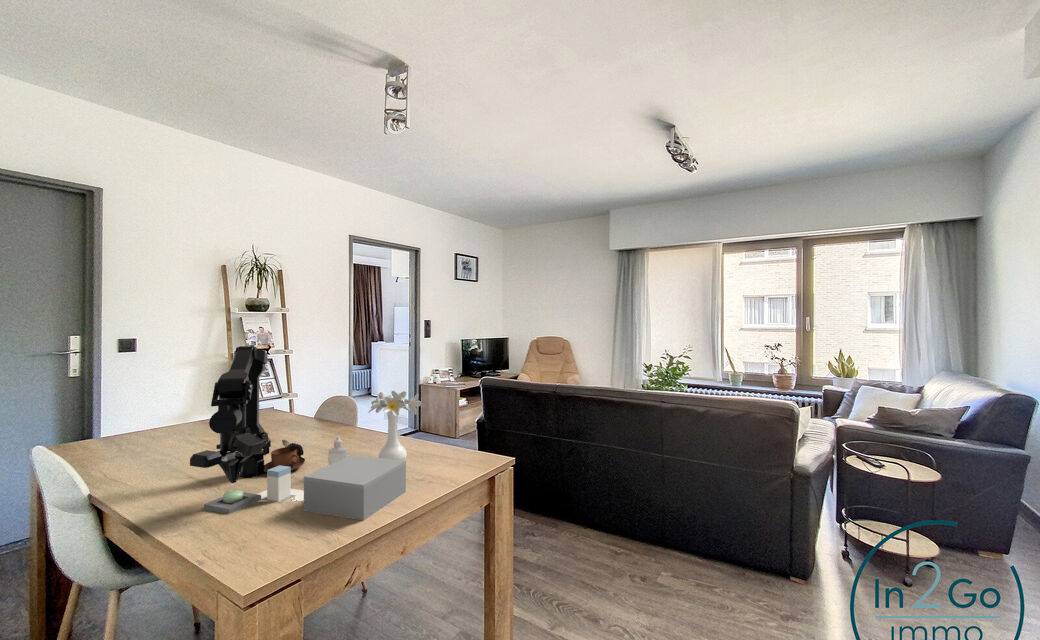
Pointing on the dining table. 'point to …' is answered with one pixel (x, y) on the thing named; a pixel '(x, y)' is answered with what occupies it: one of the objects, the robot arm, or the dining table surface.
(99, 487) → the dining table surface
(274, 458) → the cup and saucer
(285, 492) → the white blue upright block
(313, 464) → the dining table surface
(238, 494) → the button
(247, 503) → the button housing
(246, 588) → the dining table surface
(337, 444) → the eye dropper bottle
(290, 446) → the eagle figurine
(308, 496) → the grey rectangular slab
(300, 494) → the paper sheet
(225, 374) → the robot arm
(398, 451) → the flower vase
